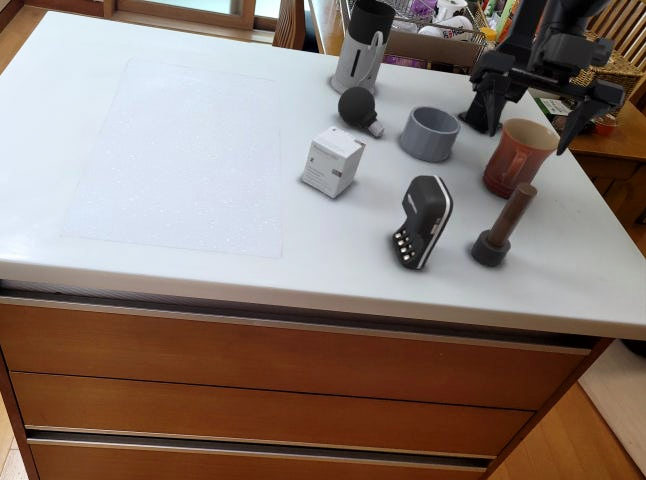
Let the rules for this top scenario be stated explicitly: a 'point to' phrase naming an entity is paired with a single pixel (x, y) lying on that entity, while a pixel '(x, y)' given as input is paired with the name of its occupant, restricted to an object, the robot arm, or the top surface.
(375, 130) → the light bulb
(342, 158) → the white cardboard box
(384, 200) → the top surface
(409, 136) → the grey stone mortar
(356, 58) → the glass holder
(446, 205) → the battery charger
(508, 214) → the brown wooden pestle
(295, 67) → the top surface
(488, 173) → the mug
